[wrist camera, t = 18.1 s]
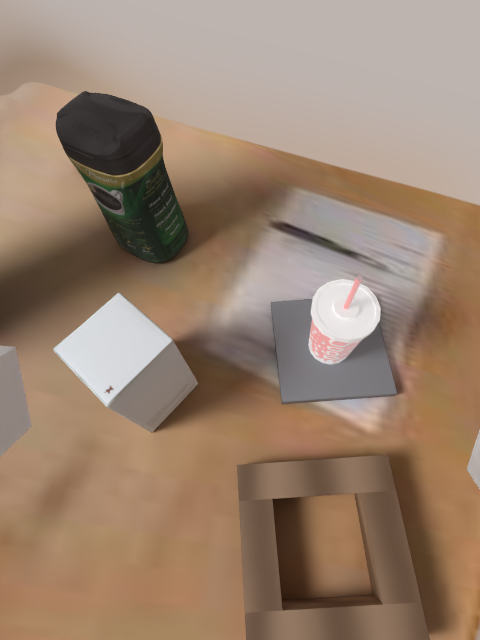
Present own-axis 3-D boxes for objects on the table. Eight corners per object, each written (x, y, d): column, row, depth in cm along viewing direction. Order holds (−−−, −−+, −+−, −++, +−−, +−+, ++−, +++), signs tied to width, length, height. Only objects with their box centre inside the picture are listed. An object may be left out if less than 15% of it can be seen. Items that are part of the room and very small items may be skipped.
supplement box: (200, 383, 40) (176, 340, 29) (151, 434, 38) (104, 410, 27) (157, 343, 43) (119, 289, 31) (108, 389, 41) (48, 349, 29)
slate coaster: (281, 404, 39) (282, 402, 38) (270, 306, 44) (271, 302, 43) (393, 395, 38) (397, 393, 38) (369, 298, 44) (371, 294, 43)
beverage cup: (293, 359, 40) (308, 297, 27) (311, 313, 42) (332, 236, 29) (348, 379, 38) (390, 325, 26) (363, 331, 41) (408, 259, 28)
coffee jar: (198, 231, 50) (166, 98, 33) (165, 273, 47) (111, 152, 30) (143, 206, 52) (88, 71, 36) (109, 245, 50) (30, 118, 33)
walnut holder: (248, 646, 30) (247, 662, 27) (239, 467, 36) (237, 465, 34) (417, 637, 30) (432, 651, 27) (378, 457, 36) (388, 454, 33)
